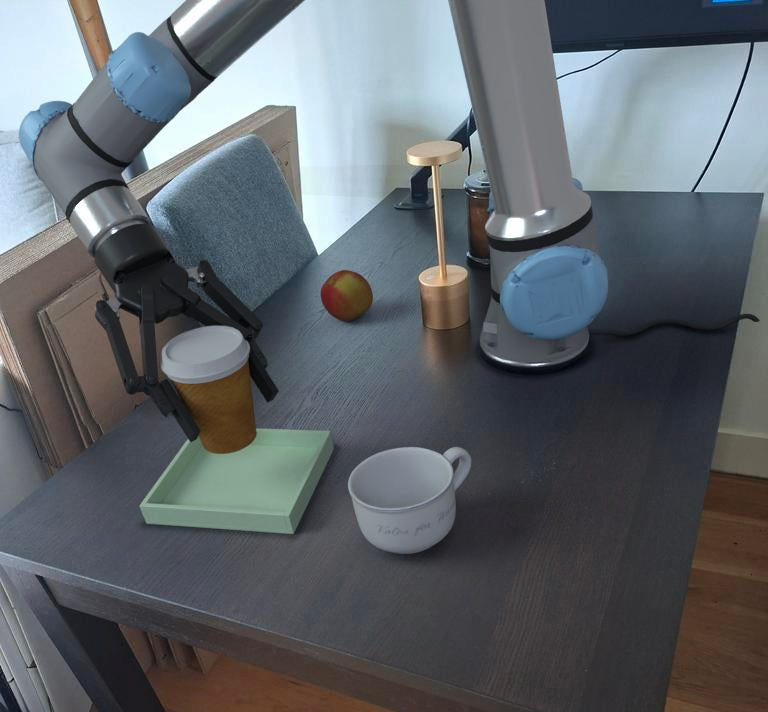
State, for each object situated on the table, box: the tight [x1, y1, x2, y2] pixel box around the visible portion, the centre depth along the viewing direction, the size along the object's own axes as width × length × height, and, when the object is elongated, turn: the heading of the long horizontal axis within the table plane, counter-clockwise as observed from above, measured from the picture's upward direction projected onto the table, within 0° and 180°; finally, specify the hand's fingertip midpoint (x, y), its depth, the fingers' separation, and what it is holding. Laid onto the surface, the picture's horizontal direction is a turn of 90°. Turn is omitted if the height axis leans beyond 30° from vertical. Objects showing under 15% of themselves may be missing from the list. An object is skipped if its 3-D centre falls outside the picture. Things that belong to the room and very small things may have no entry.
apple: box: [320, 269, 374, 323], centre depth 121 cm, size 8×8×8 cm
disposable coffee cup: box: [160, 326, 257, 454], centre depth 83 cm, size 10×10×12 cm
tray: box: [138, 427, 335, 535], centre depth 91 cm, size 18×16×3 cm
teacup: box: [347, 446, 472, 555], centre depth 79 cm, size 14×11×8 cm
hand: (235, 416), depth 83 cm, fingers closed on disposable coffee cup, 9 cm apart
